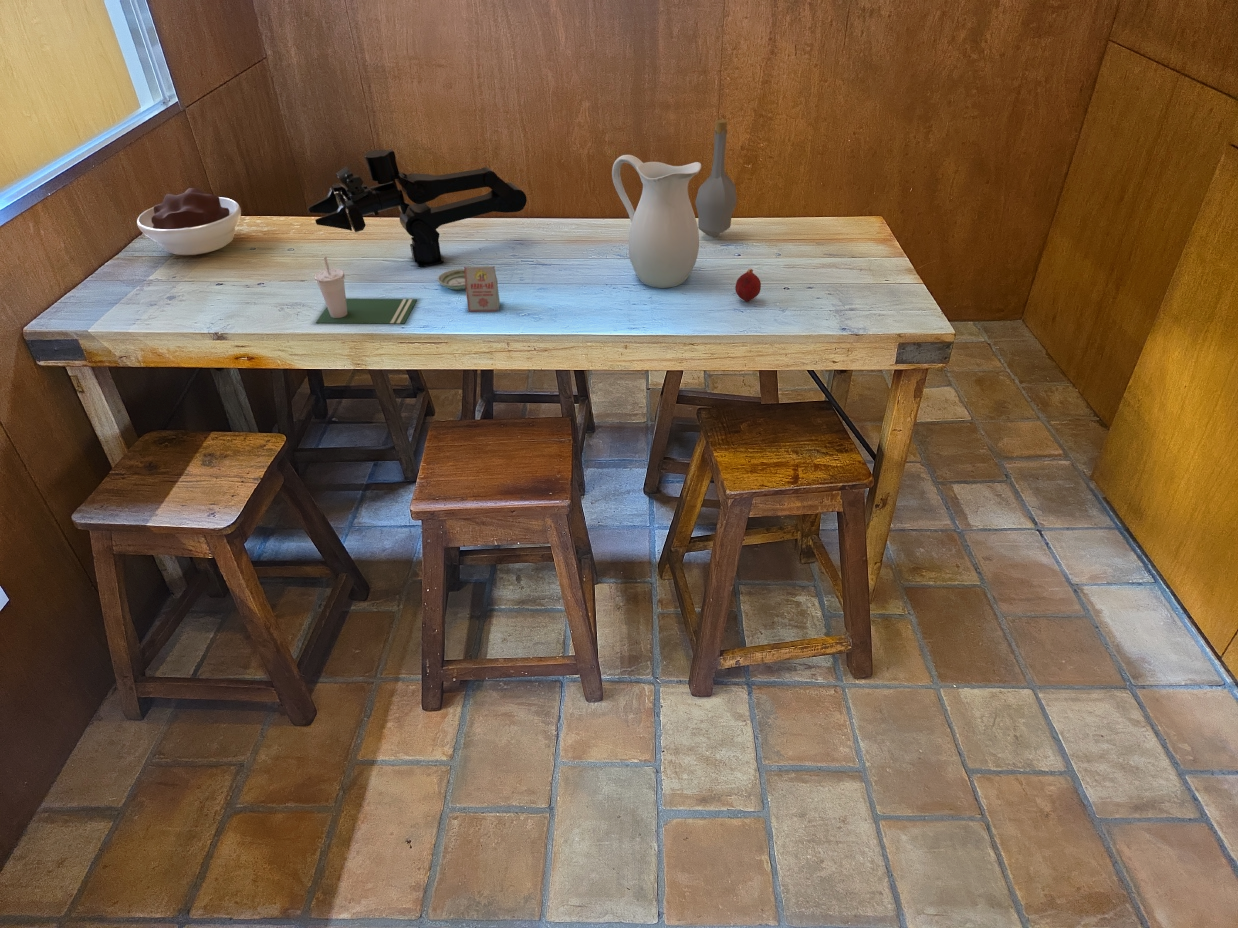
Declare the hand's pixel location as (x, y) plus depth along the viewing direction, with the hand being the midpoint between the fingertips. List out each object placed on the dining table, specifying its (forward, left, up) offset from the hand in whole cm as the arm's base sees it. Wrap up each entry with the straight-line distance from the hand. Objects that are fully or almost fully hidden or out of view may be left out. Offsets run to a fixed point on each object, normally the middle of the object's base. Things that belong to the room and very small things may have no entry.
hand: (312, 216), depth 184 cm
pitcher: (-73, +32, -16) cm, 82 cm away
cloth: (-6, +21, -16) cm, 27 cm away
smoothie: (+1, +20, -16) cm, 26 cm away
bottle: (-99, +18, -16) cm, 102 cm away
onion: (-86, +55, -16) cm, 104 cm away
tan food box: (-30, +31, -16) cm, 46 cm away
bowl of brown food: (+28, -37, -16) cm, 49 cm away
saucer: (-28, +17, -16) cm, 37 cm away
